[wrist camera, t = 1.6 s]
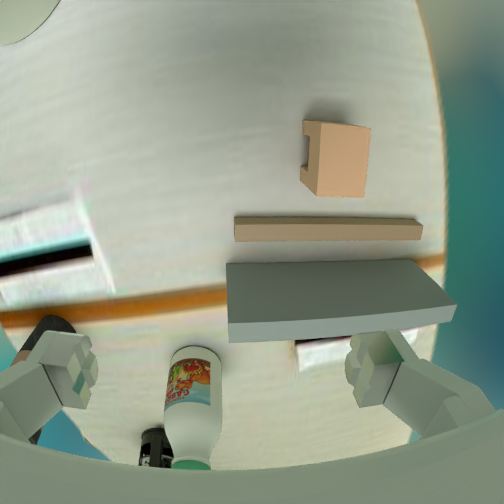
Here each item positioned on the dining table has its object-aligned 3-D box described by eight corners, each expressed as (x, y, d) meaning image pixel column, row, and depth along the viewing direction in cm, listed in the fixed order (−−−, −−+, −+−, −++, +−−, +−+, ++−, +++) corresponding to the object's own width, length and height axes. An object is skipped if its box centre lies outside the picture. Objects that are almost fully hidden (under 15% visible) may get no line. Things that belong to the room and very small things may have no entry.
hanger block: (303, 119, 33) (321, 123, 27) (345, 123, 34) (370, 128, 27) (299, 180, 36) (316, 196, 30) (340, 181, 37) (363, 197, 30)
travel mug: (34, 309, 41) (-25, 403, 23) (76, 318, 42) (24, 423, 24) (43, 346, 44) (-3, 438, 26) (82, 355, 45) (44, 456, 27)
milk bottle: (229, 354, 46) (236, 473, 28) (210, 384, 49) (210, 494, 31) (180, 338, 44) (166, 459, 26) (164, 370, 47) (150, 482, 29)
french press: (189, 452, 59) (188, 545, 38) (147, 450, 58) (138, 540, 37) (182, 424, 54) (177, 533, 33) (135, 421, 53) (119, 525, 32)
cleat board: (225, 217, 37) (227, 265, 27) (419, 219, 40) (472, 257, 29) (226, 280, 41) (228, 342, 30) (407, 273, 43) (450, 321, 32)
